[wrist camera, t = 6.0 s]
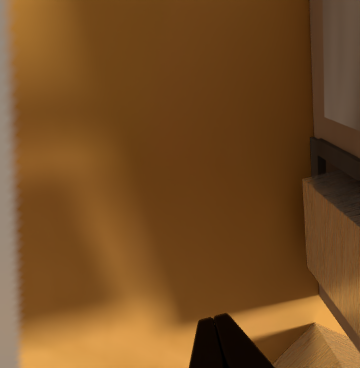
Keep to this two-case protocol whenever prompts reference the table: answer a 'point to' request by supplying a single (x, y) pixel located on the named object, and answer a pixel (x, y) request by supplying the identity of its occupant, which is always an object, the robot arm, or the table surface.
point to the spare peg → (320, 351)
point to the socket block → (336, 101)
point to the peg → (335, 239)
